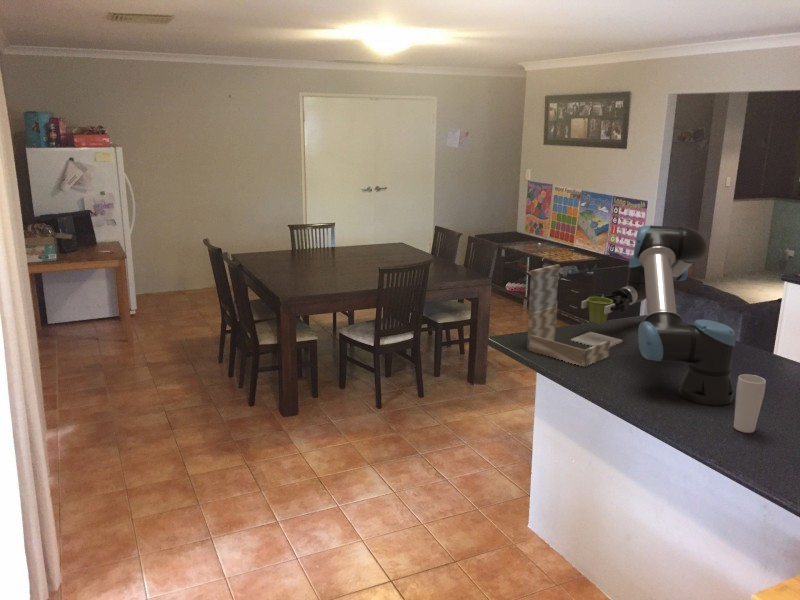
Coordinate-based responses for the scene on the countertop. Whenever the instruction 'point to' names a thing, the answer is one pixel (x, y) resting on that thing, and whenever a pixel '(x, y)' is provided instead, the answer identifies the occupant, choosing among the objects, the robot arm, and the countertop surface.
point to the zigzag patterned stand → (554, 322)
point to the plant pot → (598, 309)
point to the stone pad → (595, 339)
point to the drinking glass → (748, 402)
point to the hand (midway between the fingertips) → (593, 307)
